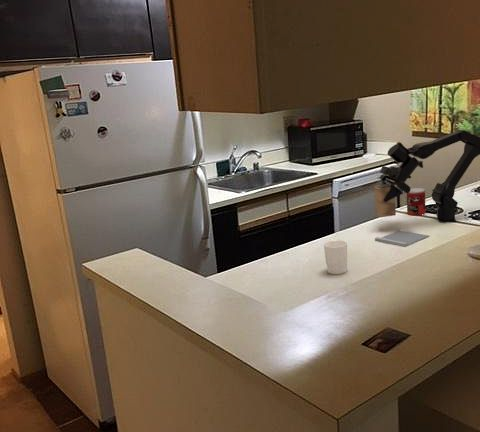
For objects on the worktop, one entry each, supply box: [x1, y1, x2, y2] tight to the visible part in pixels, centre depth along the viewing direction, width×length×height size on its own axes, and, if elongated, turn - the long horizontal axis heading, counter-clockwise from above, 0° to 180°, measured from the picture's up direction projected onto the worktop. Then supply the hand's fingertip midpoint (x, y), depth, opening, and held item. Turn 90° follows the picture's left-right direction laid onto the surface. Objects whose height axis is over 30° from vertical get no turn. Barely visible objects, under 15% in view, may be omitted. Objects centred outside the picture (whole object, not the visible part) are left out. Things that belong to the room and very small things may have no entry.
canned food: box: [406, 187, 426, 217], centre depth 249 cm, size 8×8×11 cm
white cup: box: [323, 239, 348, 275], centre depth 191 cm, size 8×8×10 cm
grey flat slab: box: [374, 229, 430, 248], centre depth 218 cm, size 16×14×1 cm
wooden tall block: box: [373, 183, 397, 218], centre depth 229 cm, size 6×6×13 cm
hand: (381, 199), depth 228 cm, fingers closed on wooden tall block, 5 cm apart
